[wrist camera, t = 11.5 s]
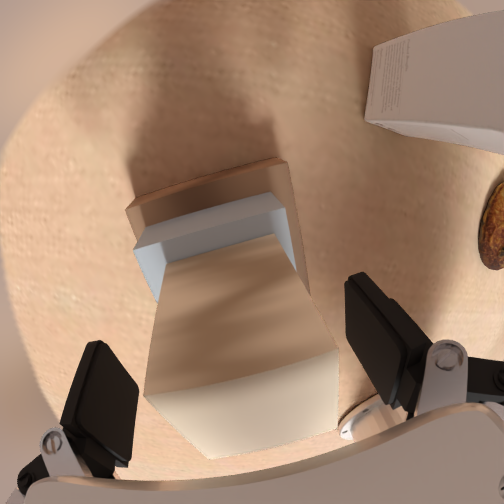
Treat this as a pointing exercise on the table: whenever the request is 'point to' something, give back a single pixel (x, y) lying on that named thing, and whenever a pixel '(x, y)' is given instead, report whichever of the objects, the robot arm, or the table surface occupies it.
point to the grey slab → (210, 234)
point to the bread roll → (493, 231)
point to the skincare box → (443, 83)
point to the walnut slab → (223, 199)
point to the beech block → (241, 352)
